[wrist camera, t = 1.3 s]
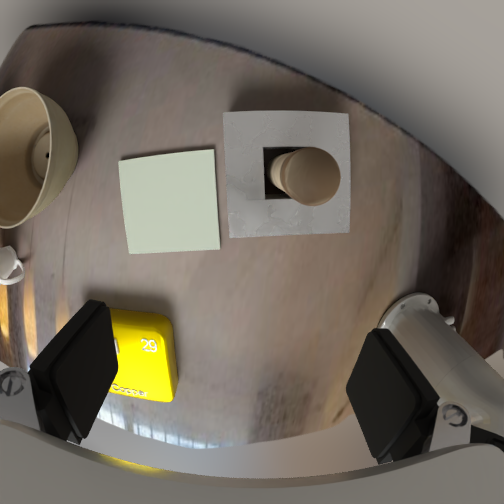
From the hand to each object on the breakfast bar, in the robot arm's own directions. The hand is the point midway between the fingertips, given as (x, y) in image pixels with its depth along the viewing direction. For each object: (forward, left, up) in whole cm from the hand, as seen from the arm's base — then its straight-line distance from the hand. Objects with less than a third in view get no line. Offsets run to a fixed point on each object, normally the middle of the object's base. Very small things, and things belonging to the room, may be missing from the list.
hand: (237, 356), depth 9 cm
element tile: (+19, +20, -26) cm, 38 cm away
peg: (-5, -5, -26) cm, 27 cm away
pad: (+9, -2, -26) cm, 27 cm away
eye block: (-5, -5, -26) cm, 27 cm away
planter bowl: (+26, -11, -26) cm, 38 cm away
